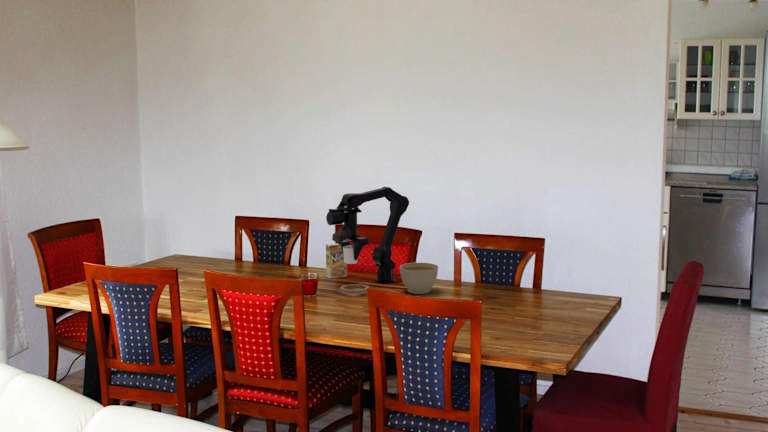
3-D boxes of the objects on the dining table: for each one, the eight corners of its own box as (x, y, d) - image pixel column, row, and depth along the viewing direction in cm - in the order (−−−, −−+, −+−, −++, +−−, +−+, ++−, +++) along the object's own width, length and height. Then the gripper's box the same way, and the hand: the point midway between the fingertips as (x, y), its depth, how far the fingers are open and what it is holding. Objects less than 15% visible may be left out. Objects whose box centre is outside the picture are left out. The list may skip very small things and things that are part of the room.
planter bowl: (393, 289, 347) (392, 264, 346) (425, 285, 354) (425, 261, 353) (411, 298, 333) (411, 271, 331) (445, 293, 340) (445, 267, 339)
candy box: (329, 279, 369) (329, 245, 366) (325, 277, 372) (325, 244, 370) (347, 276, 373) (347, 243, 371) (343, 275, 376) (343, 242, 374)
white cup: (359, 261, 356) (359, 245, 355) (357, 264, 349) (357, 248, 348) (344, 260, 356) (344, 244, 355) (341, 263, 350) (341, 247, 349)
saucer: (356, 288, 350) (356, 282, 350) (374, 293, 342) (374, 287, 341) (334, 292, 342) (334, 287, 342) (353, 297, 334) (353, 292, 333)
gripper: (322, 222, 352) (322, 258, 354) (349, 227, 338) (350, 264, 340) (342, 220, 359) (342, 255, 361) (370, 225, 345) (370, 261, 348)
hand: (350, 259), depth 352 cm, fingers closed on white cup, 6 cm apart
